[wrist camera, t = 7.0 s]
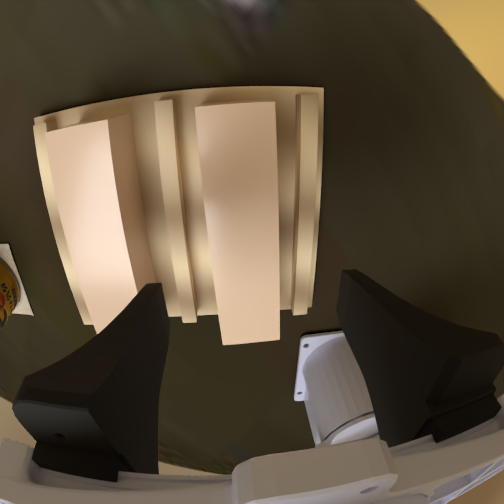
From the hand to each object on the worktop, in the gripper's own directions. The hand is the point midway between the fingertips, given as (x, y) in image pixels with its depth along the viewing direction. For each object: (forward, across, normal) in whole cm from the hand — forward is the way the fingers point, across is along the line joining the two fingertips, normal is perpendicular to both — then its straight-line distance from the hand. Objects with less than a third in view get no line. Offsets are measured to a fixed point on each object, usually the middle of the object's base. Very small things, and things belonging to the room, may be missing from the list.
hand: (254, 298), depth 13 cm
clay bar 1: (+9, +8, 0) cm, 12 cm away
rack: (+10, +4, 0) cm, 11 cm away
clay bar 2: (+9, 0, 0) cm, 9 cm away
